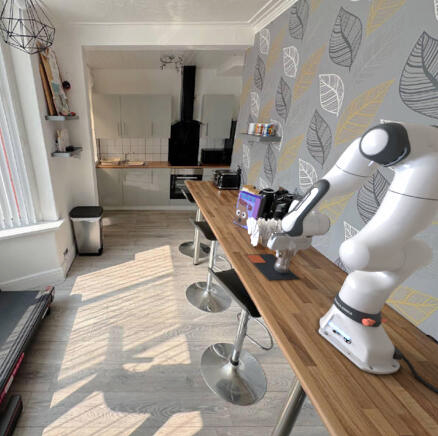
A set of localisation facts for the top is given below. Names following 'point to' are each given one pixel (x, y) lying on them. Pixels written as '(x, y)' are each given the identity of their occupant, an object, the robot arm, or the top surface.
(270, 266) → the mat
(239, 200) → the cereal box
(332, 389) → the top surface
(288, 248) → the plastic bottle
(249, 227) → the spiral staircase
